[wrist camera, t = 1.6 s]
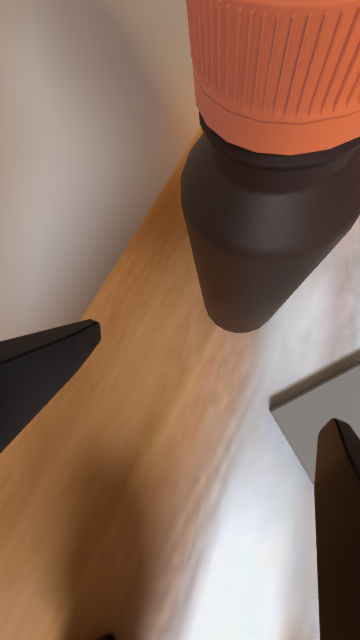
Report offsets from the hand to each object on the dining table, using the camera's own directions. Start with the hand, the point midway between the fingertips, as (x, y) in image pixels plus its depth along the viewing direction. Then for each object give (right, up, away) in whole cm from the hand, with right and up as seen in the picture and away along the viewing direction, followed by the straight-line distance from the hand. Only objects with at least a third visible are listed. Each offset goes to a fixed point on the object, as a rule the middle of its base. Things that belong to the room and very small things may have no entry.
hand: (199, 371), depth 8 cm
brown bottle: (+5, +4, +14) cm, 16 cm away
